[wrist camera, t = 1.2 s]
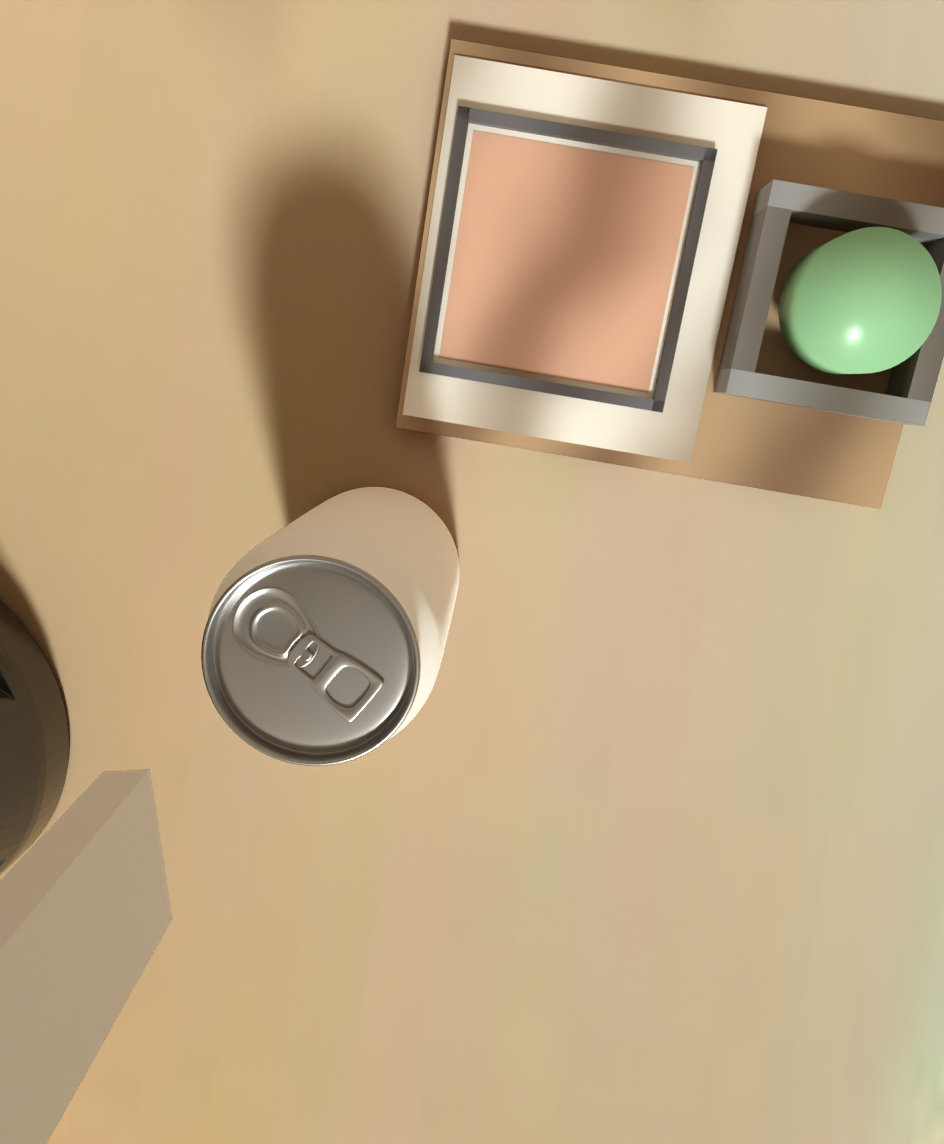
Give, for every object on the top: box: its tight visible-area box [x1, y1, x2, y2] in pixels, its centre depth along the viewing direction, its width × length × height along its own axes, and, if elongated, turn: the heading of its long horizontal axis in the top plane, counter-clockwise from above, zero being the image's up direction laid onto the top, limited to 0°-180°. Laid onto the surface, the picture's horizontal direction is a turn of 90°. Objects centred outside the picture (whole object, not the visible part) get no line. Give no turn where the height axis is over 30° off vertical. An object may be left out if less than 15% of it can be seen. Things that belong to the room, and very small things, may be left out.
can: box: [201, 487, 459, 766], centre depth 28 cm, size 6×6×12 cm
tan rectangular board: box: [396, 39, 944, 509], centre depth 30 cm, size 18×13×3 cm
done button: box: [778, 227, 942, 374], centre depth 28 cm, size 4×4×2 cm
